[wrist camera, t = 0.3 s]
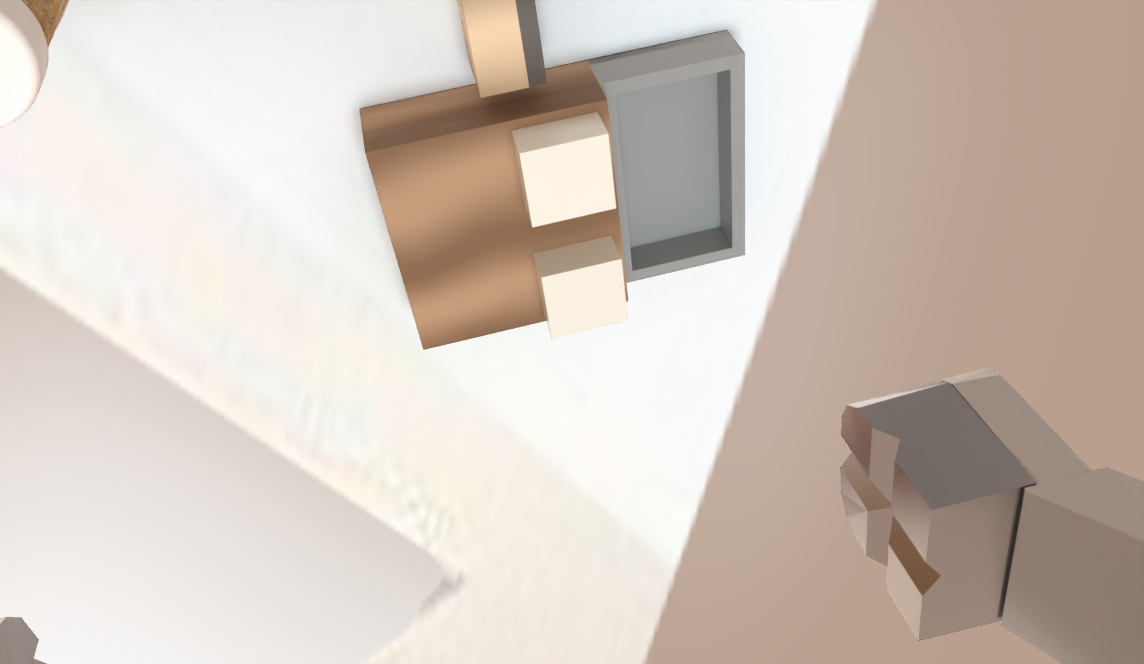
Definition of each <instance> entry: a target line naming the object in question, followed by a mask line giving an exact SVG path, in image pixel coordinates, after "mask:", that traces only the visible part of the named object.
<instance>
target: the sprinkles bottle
mask: <svg viewBox="0 0 1144 664" xmlns="http://www.w3.org/2000/svg"><path fill="white" fill-rule="evenodd" d="M68 2H69V0H0V128H2V127H5V126H7V125H9V124H11V123H13V122H15V121H16V120H18V119H19V118H20V117H22V116H23V115H24V114H25V113H26V112H27V111H28V109H29V108H30V107H31V105H32V104H33V102H34V101H35V99H36V97H37V94H38V92H39V90H40V88H41V85H42V82H43V79H44V76H45V74H46V70H47V65H48V47H49V44H50V42H51V39H52V37H53V35H54V32H55V30H56V28H57V27H58V25H59V23H60V21H61V19H62V17H63V15H64V12H65V9H66V6H67V4H68Z"/></svg>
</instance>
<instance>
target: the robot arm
mask: <svg viewBox="0 0 1144 664" xmlns="http://www.w3.org/2000/svg"><path fill="white" fill-rule="evenodd" d="M841 435H842V437H843V439H844V440H845V442H846V443H847V445H848V446H849V448H850V449H851V451H852V453H851V454H850V455H849V457H848V458H847V459H846V461H845V462H844V463H843V465H842V466H841V467H840V469H841V470H840V473H841V494H842V499H843V503H844V507H845V512H846V516H847V519H848V521H849V523H850V526H851V528H852V530H853V533H854V535H855V537H856V539H857V541H858V542H859V544H860V546H861V547H862V549H863V551H864V553H865V554H866V555H867V556H869V557H871V558H872V559H874V560H876V561H878V562H880V563H882V564H884V565H886V566H887V584H886V589H887V591H888V592H889V594H890V596H891V597H892V599H893V601H894V602H895V604H896V605H897V607H898V609H899V610H900V612H901V614H902V615H903V617H904V618H905V620H906V622H907V623H908V625H909V626H910V628H911V630H912V631H913V633H914V635H915V636H916V638H917V640H918V641H920V640H924V639H929V638H933V637H936V636H941V635H945V634H949V633H953V632H957V631H961V630H965V629H969V628H973V627H977V626H981V625H985V624H989V623H993V622H998V621H1001V625H1002V626H1003V627H1005V628H1006V629H1008V630H1009V631H1011V632H1013V633H1014V634H1016V635H1017V636H1019V637H1020V638H1022V639H1023V640H1025V641H1027V642H1028V643H1030V644H1031V645H1033V646H1034V647H1036V648H1038V649H1039V650H1041V651H1042V652H1044V653H1045V654H1047V655H1048V656H1050V657H1052V658H1053V659H1055V660H1056V661H1058V662H1059V663H1061V664H1144V481H1141V480H1138V479H1136V478H1133V477H1131V476H1128V475H1126V474H1123V473H1120V472H1118V471H1115V470H1113V469H1110V468H1108V467H1106V468H1101V469H1097V470H1093V471H1092V470H1091V469H1090V468H1089V467H1088V466H1087V465H1086V463H1085V462H1084V461H1083V460H1082V459H1081V458H1080V457H1079V456H1078V455H1077V454H1076V453H1075V452H1074V451H1073V450H1072V449H1071V448H1070V447H1069V446H1068V445H1067V444H1066V442H1065V441H1064V440H1063V439H1062V438H1061V437H1060V436H1059V435H1058V434H1057V433H1056V432H1055V431H1054V430H1053V429H1052V428H1051V427H1050V426H1049V425H1048V424H1047V423H1046V422H1045V420H1044V419H1043V418H1042V417H1041V416H1040V415H1039V414H1038V413H1037V412H1036V411H1035V410H1034V409H1033V408H1032V407H1031V406H1030V405H1029V404H1028V403H1027V402H1026V401H1025V399H1024V398H1023V397H1022V396H1021V395H1020V394H1019V393H1018V392H1017V391H1016V390H1015V389H1014V388H1013V387H1012V386H1011V385H1010V384H1009V383H1008V382H1007V381H1006V380H1005V379H1004V377H1003V376H1002V375H1001V374H1000V373H998V372H997V371H995V370H992V369H990V368H984V369H980V370H976V371H973V372H969V373H965V374H961V375H958V376H954V377H950V378H946V379H943V380H941V381H940V382H933V383H929V384H925V385H921V386H917V387H913V388H910V389H906V390H902V391H898V392H895V393H891V394H887V395H883V396H879V397H875V398H871V399H867V400H864V401H860V402H856V403H852V404H848V405H846V408H845V410H844V412H843V415H842V428H841ZM38 640H39V639H38V638H37V637H36V636H35V634H34V633H33V632H32V631H31V629H30V628H29V627H28V625H27V624H26V623H25V622H24V620H23V619H22V618H19V617H5V618H0V664H46V663H44V662H41V661H38V660H36V659H34V655H35V651H36V647H37V644H38Z"/></svg>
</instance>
